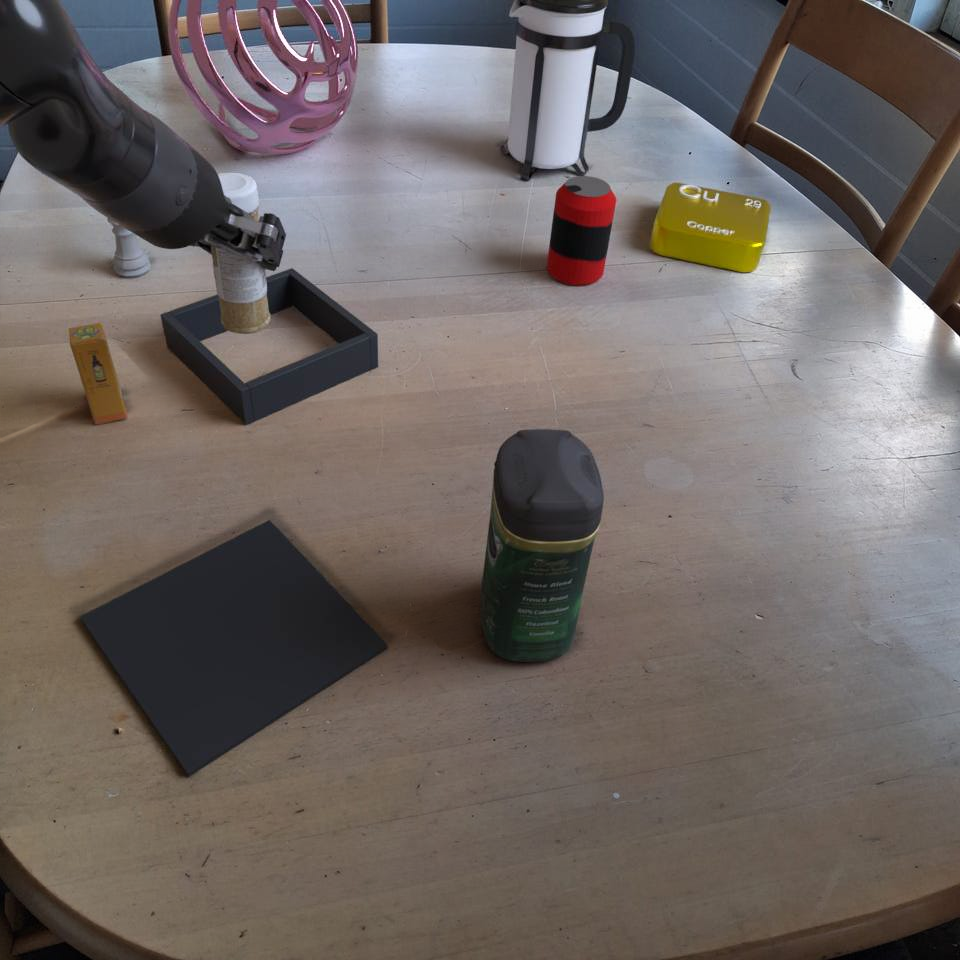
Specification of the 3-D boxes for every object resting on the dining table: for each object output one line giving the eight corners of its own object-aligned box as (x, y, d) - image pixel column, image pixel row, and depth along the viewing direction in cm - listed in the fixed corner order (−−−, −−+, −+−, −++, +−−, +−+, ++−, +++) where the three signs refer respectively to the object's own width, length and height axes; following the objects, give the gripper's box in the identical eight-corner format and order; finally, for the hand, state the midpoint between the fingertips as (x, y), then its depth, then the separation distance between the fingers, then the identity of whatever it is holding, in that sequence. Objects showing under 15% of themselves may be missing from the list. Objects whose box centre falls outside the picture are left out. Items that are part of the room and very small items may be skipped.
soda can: (536, 263, 121) (546, 177, 113) (583, 252, 124) (597, 168, 116) (565, 291, 116) (578, 204, 108) (614, 280, 119) (630, 194, 111)
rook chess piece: (142, 281, 112) (129, 222, 106) (108, 276, 112) (93, 217, 107) (157, 263, 115) (145, 204, 109) (124, 258, 115) (110, 200, 110)
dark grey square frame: (245, 425, 93) (240, 391, 90) (167, 348, 102) (159, 314, 99) (378, 367, 102) (377, 333, 99) (295, 300, 111) (292, 267, 108)
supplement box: (124, 400, 95) (103, 320, 88) (128, 420, 93) (106, 339, 86) (91, 406, 94) (67, 325, 87) (93, 426, 92) (69, 345, 85)
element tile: (646, 253, 125) (653, 221, 121) (663, 206, 135) (669, 176, 132) (755, 276, 122) (765, 244, 119) (763, 226, 133) (773, 196, 129)
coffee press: (569, 196, 136) (600, -25, 115) (479, 166, 141) (493, -50, 121) (618, 158, 147) (654, -50, 126) (532, 131, 152) (554, -72, 132)
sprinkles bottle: (229, 306, 84) (209, 167, 75) (277, 311, 84) (263, 173, 75) (214, 334, 81) (191, 192, 72) (264, 339, 81) (247, 197, 72)
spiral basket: (113, -17, 133) (198, -108, 114) (274, 4, 152) (371, -71, 132) (159, 176, 138) (248, 121, 118) (311, 174, 156) (410, 126, 137)
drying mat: (188, 777, 65) (187, 773, 65) (80, 621, 74) (79, 616, 74) (387, 648, 74) (387, 644, 74) (270, 523, 84) (269, 519, 83)
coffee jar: (580, 665, 74) (619, 507, 62) (485, 669, 74) (504, 509, 61) (562, 575, 81) (593, 416, 69) (475, 578, 80) (490, 417, 68)
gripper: (251, 145, 62) (335, 229, 79) (71, 107, 64) (189, 197, 81) (221, 250, 62) (311, 312, 78) (42, 208, 64) (167, 277, 81)
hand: (249, 253), depth 80 cm, fingers closed on sprinkles bottle, 4 cm apart
